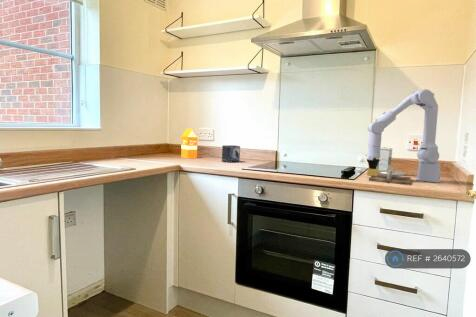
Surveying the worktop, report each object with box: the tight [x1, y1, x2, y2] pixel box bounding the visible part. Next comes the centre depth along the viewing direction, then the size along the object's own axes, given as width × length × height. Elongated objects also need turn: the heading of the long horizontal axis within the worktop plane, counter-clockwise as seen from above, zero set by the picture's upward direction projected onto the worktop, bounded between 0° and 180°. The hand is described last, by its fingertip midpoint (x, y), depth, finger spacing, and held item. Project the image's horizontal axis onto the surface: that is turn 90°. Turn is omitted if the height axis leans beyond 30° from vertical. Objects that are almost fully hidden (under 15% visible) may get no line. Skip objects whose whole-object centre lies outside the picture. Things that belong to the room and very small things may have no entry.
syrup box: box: [376, 146, 393, 174], centre depth 177 cm, size 6×6×14 cm
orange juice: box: [180, 128, 198, 159], centre depth 225 cm, size 8×9×20 cm
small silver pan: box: [366, 167, 406, 177], centre depth 157 cm, size 16×12×4 cm
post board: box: [368, 171, 412, 186], centre depth 156 cm, size 17×20×5 cm
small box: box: [221, 144, 241, 163], centre depth 209 cm, size 11×6×10 cm, turn 131°
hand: (372, 173), depth 161 cm, fingers closed
